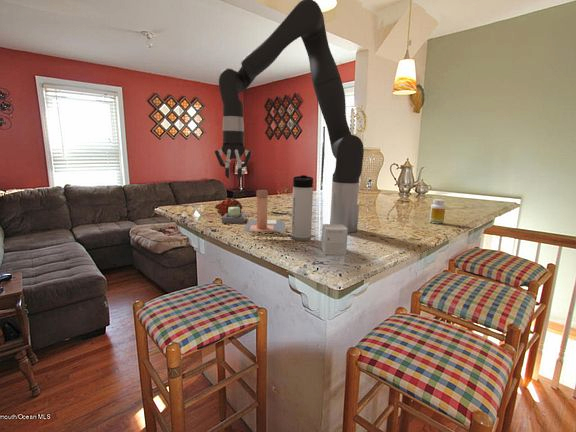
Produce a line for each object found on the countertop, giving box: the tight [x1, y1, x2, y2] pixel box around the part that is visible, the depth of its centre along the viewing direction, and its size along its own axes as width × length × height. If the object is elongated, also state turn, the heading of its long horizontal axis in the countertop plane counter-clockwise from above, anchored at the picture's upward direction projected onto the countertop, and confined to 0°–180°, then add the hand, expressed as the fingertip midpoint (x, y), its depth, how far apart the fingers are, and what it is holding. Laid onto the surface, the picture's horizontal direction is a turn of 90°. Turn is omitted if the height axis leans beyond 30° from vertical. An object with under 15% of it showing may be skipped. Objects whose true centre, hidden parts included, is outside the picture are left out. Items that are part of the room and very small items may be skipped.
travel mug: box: [291, 174, 314, 242], centre depth 97 cm, size 6×7×20 cm
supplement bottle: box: [428, 198, 446, 224], centre depth 126 cm, size 5×5×10 cm
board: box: [243, 219, 286, 233], centre depth 111 cm, size 14×18×1 cm
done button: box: [228, 207, 241, 217], centre depth 117 cm, size 4×4×4 cm
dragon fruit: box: [214, 197, 243, 215], centre depth 130 cm, size 8×8×12 cm
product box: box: [320, 223, 349, 256], centre depth 86 cm, size 6×6×7 cm
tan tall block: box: [256, 189, 269, 229], centre depth 106 cm, size 4×4×13 cm
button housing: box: [221, 213, 247, 224], centre depth 117 cm, size 8×8×3 cm
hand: (233, 178), depth 114 cm, fingers open, 3 cm apart
